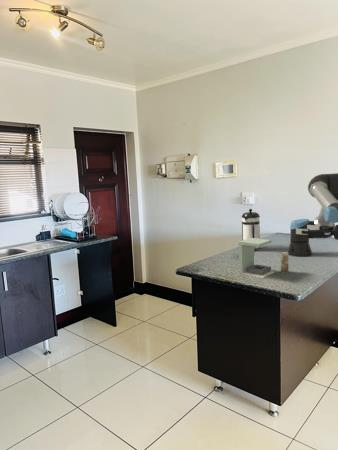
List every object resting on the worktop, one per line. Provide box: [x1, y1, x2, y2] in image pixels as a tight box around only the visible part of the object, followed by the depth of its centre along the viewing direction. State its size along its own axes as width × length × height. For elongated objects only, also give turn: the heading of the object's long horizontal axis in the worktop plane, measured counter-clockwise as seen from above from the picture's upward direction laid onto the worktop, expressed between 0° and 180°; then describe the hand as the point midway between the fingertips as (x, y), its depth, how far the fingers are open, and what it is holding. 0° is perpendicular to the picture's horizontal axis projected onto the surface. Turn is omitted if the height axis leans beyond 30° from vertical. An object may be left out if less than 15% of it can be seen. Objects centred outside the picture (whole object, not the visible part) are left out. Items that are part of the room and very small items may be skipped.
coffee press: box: [241, 208, 262, 252], centre depth 251 cm, size 17×16×30 cm
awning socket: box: [238, 238, 276, 279], centre depth 194 cm, size 15×13×18 cm
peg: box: [280, 251, 289, 274], centre depth 194 cm, size 4×4×11 cm
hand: (301, 229), depth 184 cm, fingers open, 13 cm apart
